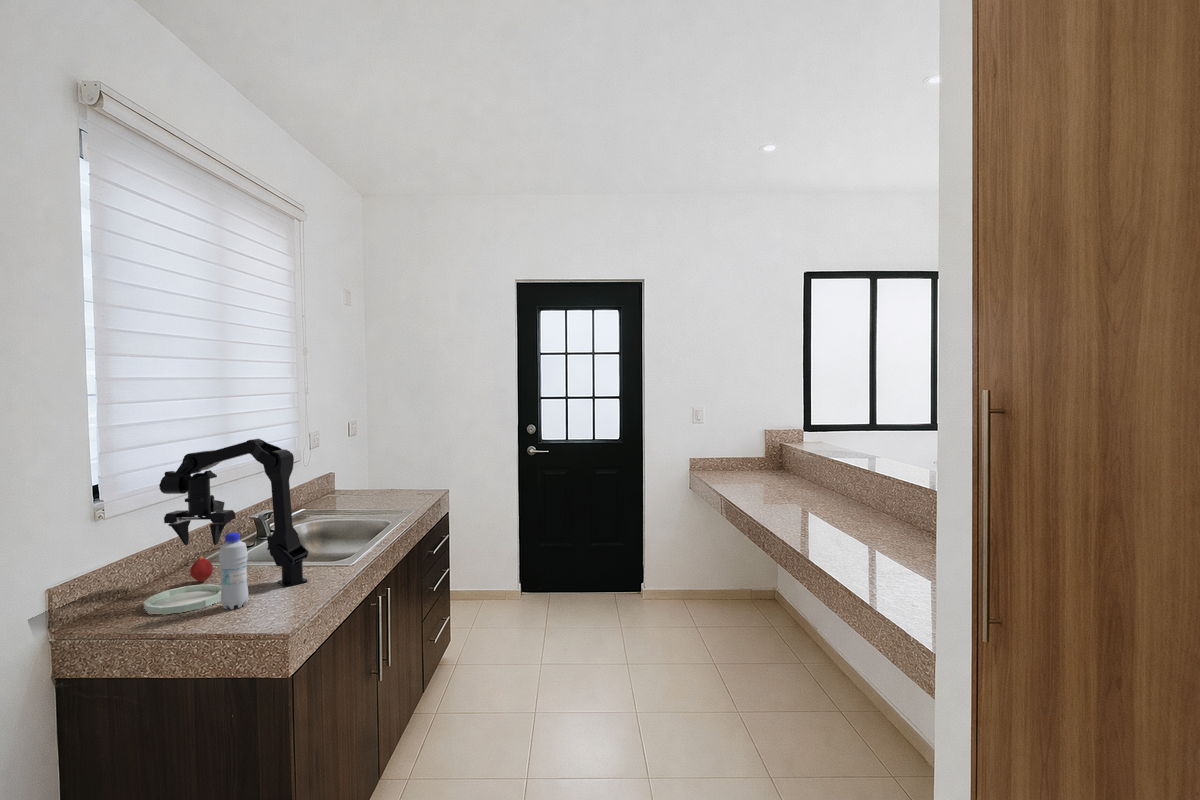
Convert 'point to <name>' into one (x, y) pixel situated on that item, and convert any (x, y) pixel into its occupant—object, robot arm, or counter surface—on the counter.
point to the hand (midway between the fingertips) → (201, 544)
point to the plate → (183, 599)
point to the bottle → (233, 571)
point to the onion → (201, 569)
